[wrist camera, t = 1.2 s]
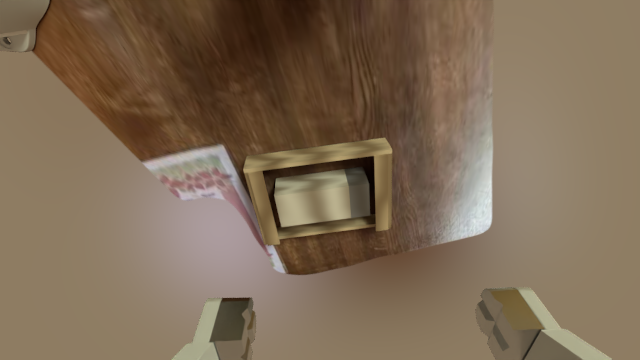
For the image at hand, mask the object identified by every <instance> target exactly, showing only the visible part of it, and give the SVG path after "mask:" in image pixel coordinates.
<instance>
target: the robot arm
mask: <svg viewBox="0 0 640 360" xmlns="http://www.w3.org/2000/svg"><path fill="white" fill-rule="evenodd" d="M49 1H50V0H0V51H12V52H27V51H31V50H32V49H33V48H34V45H35V38H36V27H37V24H38V23H39V21H40V20H41V18H42V17H43V15H44V14H45V12H46V10H47V8H48V5H49ZM7 37H8V38H9V39H10V40H11V43H10V42H9V41H8V40H7ZM481 297H482V299H483V300H482V301H481V302H479V303H478V304H477V307H476V319H477V323H478V325H479V327H480V330H481V331H482V332H483V333H484V334H485V335H487V336H488V337H489V339H488V345H489V348H490V350H491V352H492V353H493V355H494V357H495V359H496V360H612V359H611V358H609V357H608V356H606V355H605V354H603V353H602V352H600V351H599V350H597V349H596V348H594V347H593V346H591V345H590V344H588V343H586V342H585V341H583V340H582V339H580V338H579V337H577V336H576V335H574V334H573V333H571V332H570V331H568V330H567V329H561V328H560V326H559V325H558V324H557V322H556V321H555V320H554V318H553V317H552V316H551V314H550V313H549V312H548V310H547V309H546V308H545V306H544V305H543V304H542V302H541V301H540V299H539V298H538V297H537V295H536V294H535V293H534V292H533V290H532V289H530V288H529V287H520V288H519V287H518V288H512V287H511V288H490V289H484V290H483V291H482V293H481ZM252 309H253V300H252V298H209V299H207V301H206V303H205V305H204V308H203V311H202V314H201V317H200V320H199V323H198V326H197V329H196V332H195V335H194V338H193V341H192V343H188V344H186V345H185V346H184V347H183V348H182V349H181V350H180V351H179V352H178V353H177V354H176V355H175V356H174V357H173V358H172V359H171V360H251V359H252V348H251V343H252V342H253V341H254V340H255V333H256V315H255V312H254V311H253V310H252Z"/></svg>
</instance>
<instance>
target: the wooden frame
mask: <svg viewBox="0 0 640 360" xmlns="http://www.w3.org/2000/svg"><path fill="white" fill-rule="evenodd" d="M369 156H374V181H375V214H374V215H370V216H362V217H355V218H347V219H340V220H332V221H325V222H317V223H310V224H302V225H295V226H287V227H276V224H275V220H274V216H273V212H272V208H271V204H270V200H269V196H268V192H267V188H266V184H265V180H264V176H263V171H264V170H271V169H279V168H286V167H294V166H301V165H309V164H316V163H324V162H331V161H339V160H346V159H354V158H361V157H369ZM243 171H244V174H245V178H246V181H247V185H248V188H249V192H250V195H251V199H252V203H253V206H254V210H255V213H256V217H257V220H258V224H259V227H260V231H261V234H262V238H263V241H264V245H266V244H268V245H276V244H280V241H279V239H286V238H293V237H301V236H308V235H316V234H323V233H331V232H338V231H346V230H353V229H361V228H368V227H376V231H381V230H388V228H391V203H392V149H391V147H390V145H389V143H388V142H387V140H386V138H380V139H372V140H365V141H357V142H350V143H342V144H335V145H327V146H320V147H312V148H305V149H297V150H290V151H282V152H275V153H267V154H260V155H252V156H247V157H246V161H245V164H244V168H243Z"/></svg>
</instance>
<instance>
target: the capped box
mask: <svg viewBox="0 0 640 360" xmlns="http://www.w3.org/2000/svg"><path fill="white" fill-rule="evenodd" d="M274 197H275V202H276V206H277V210H278V214H279V219H280V223H281V227H287V226H295V225H302V224H310V223H317V222H325V221H332V220H340V219H347V218H355V217H362V216H370V197H369V182H368V179H367V177H366V174H365V171H364V169H363V167H358V168H350V169H343V170H335V171H328V172H320V173H313V174H305V175H297V176H290V177H282V178H276V182H275V194H274Z"/></svg>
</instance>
